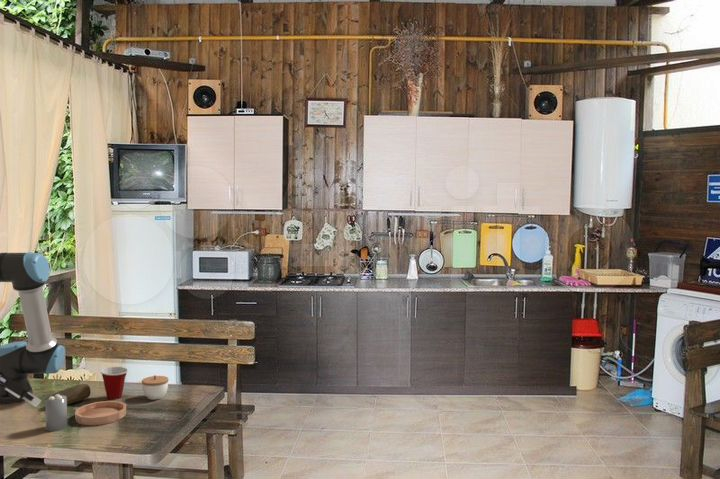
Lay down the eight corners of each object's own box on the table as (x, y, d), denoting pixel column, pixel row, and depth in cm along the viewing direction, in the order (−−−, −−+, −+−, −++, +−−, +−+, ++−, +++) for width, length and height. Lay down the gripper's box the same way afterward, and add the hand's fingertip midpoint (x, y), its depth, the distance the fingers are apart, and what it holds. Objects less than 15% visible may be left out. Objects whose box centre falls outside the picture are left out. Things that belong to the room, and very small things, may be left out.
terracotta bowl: (66, 417, 228) (66, 410, 228) (111, 405, 242) (111, 397, 242) (90, 429, 217) (89, 421, 217) (135, 415, 231) (135, 407, 231)
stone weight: (81, 396, 253) (80, 381, 253) (92, 399, 250) (92, 383, 249) (48, 407, 240) (48, 391, 239) (59, 410, 236) (59, 393, 236)
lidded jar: (174, 396, 254) (173, 374, 253) (153, 403, 245) (152, 381, 244) (157, 391, 260) (157, 370, 259) (136, 398, 251) (136, 376, 250)
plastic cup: (118, 402, 246) (118, 374, 245) (95, 400, 248) (94, 372, 247) (133, 394, 256) (133, 366, 255) (111, 392, 258) (110, 365, 257)
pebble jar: (42, 428, 218) (41, 395, 217) (61, 422, 223) (61, 391, 222) (51, 432, 214) (50, 399, 213) (70, 427, 219) (69, 395, 218)
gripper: (-42, 369, 203) (7, 401, 216) (-14, 384, 188) (37, 417, 200) (-25, 351, 207) (23, 383, 220) (4, 364, 192) (53, 397, 204)
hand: (30, 399), depth 210 cm, fingers open, 13 cm apart
